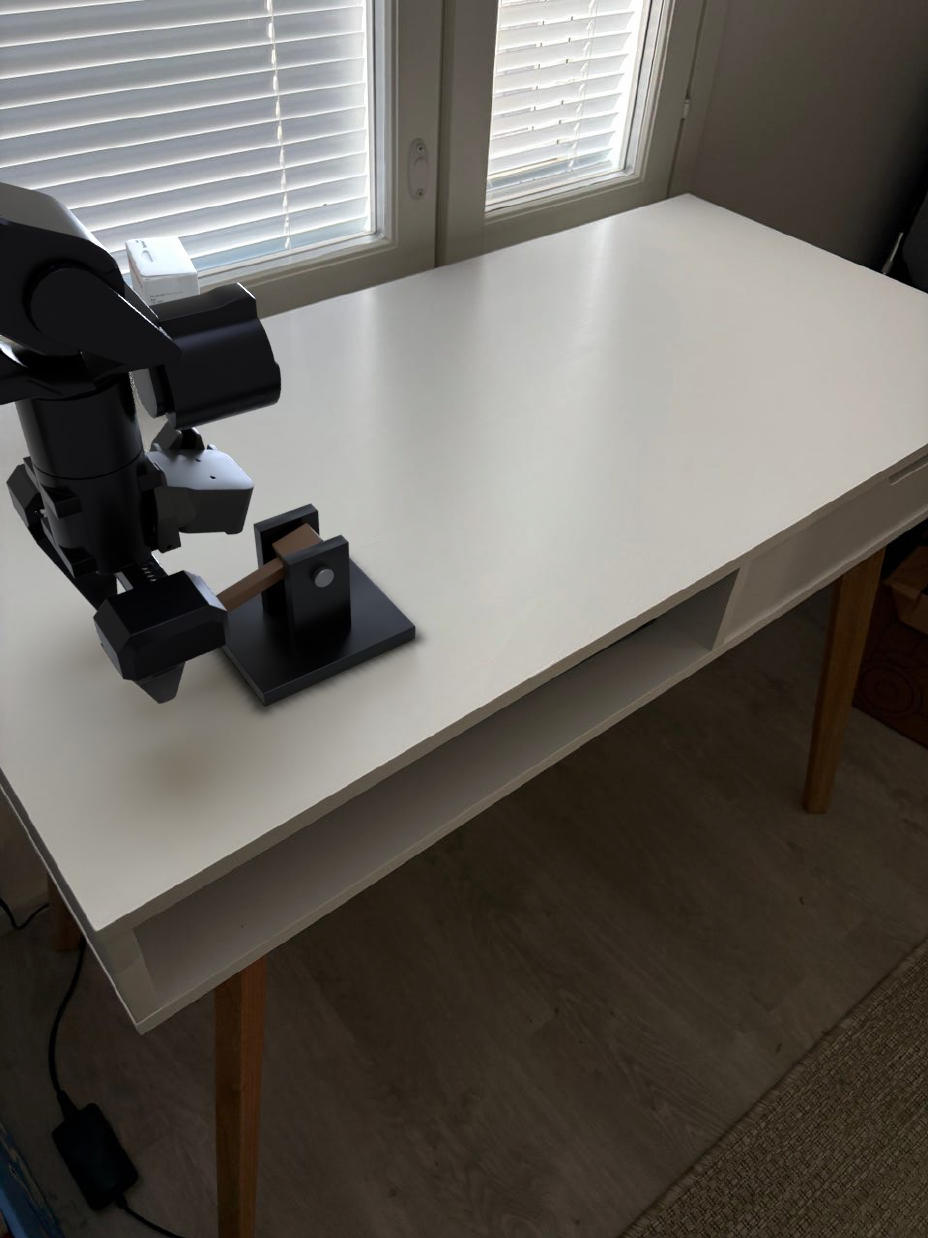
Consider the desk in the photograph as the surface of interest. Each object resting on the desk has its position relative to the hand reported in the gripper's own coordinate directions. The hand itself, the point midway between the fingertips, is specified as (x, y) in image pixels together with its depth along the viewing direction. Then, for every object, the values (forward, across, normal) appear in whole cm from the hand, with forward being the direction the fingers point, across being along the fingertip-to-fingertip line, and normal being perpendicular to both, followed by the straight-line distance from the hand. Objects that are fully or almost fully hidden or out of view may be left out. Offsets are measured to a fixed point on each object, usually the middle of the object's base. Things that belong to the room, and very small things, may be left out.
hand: (136, 654), depth 64 cm
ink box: (+4, +38, -19) cm, 42 cm away
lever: (0, 0, -7) cm, 7 cm away
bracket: (+4, 0, -12) cm, 13 cm away
